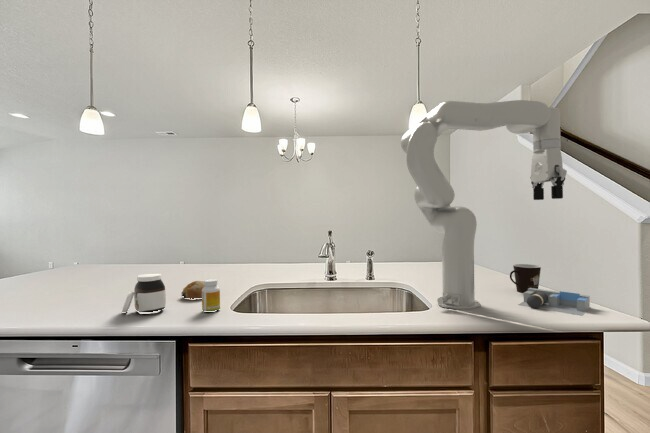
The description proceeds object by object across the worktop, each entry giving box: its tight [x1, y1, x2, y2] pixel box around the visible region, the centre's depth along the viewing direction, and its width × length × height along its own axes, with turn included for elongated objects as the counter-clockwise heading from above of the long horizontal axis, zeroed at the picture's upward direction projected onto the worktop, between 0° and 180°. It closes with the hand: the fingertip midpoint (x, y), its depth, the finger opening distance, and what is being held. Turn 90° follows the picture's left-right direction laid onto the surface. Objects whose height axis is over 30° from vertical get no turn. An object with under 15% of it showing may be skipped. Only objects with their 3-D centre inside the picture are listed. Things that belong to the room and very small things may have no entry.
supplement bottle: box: [201, 278, 221, 312], centre depth 108 cm, size 5×5×10 cm
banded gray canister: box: [527, 292, 548, 309], centre depth 106 cm, size 8×4×4 cm, turn 133°
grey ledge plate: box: [517, 288, 592, 317], centre depth 105 cm, size 12×16×5 cm
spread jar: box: [121, 273, 167, 313], centre depth 108 cm, size 12×11×12 cm
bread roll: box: [180, 280, 205, 299], centre depth 126 cm, size 10×10×8 cm
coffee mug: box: [509, 263, 542, 294], centre depth 124 cm, size 12×9×10 cm
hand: (547, 199), depth 113 cm, fingers open, 9 cm apart
